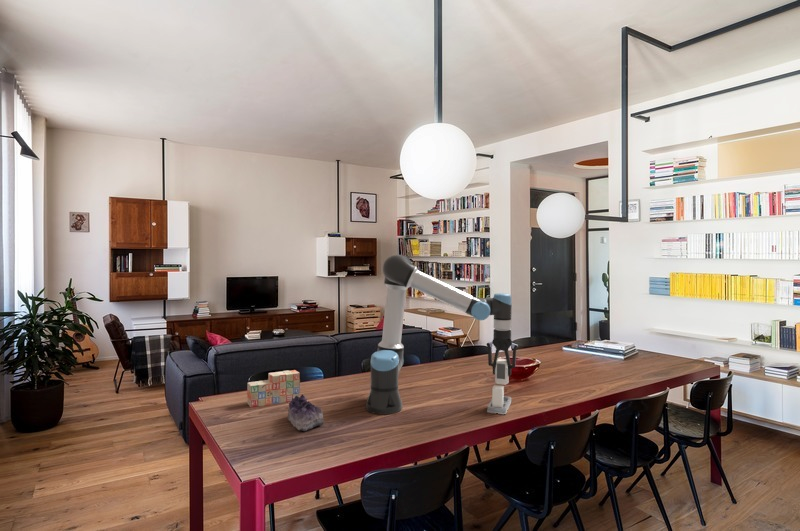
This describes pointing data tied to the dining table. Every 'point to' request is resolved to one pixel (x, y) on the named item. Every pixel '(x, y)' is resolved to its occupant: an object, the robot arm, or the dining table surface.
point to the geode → (304, 414)
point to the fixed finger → (498, 396)
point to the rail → (497, 409)
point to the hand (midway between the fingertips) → (501, 382)
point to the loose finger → (501, 371)
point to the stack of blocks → (274, 389)
